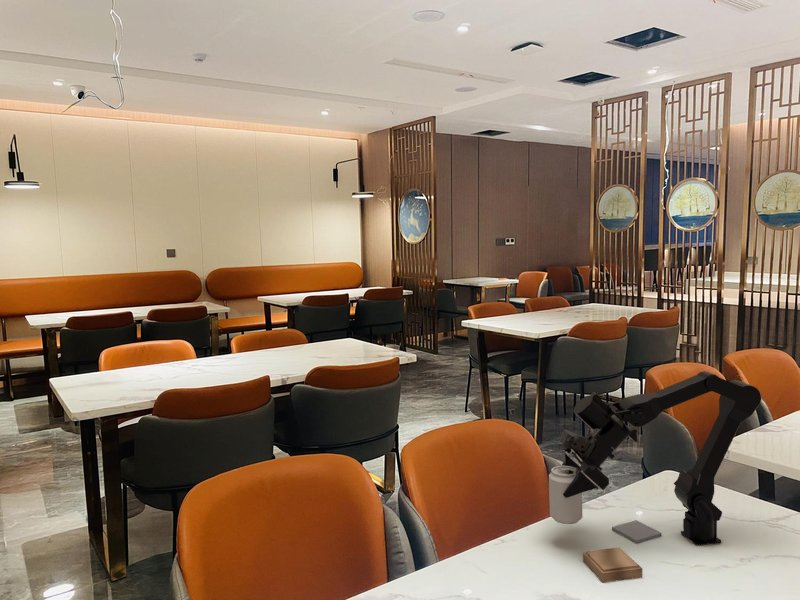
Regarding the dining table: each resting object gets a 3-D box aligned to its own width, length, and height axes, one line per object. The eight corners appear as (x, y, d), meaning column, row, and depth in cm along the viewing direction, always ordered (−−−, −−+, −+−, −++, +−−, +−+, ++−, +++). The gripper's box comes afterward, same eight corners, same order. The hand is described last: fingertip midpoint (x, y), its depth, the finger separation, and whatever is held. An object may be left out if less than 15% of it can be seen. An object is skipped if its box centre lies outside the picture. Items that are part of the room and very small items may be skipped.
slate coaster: (636, 523, 155) (636, 520, 155) (661, 536, 148) (661, 532, 148) (611, 530, 152) (611, 526, 152) (636, 543, 145) (636, 540, 145)
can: (585, 526, 141) (583, 475, 140) (551, 525, 142) (550, 475, 141) (580, 512, 148) (579, 463, 147) (548, 511, 150) (547, 463, 149)
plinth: (620, 556, 139) (620, 545, 139) (642, 577, 130) (642, 566, 130) (583, 561, 138) (582, 550, 137) (602, 582, 129) (602, 571, 128)
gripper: (569, 408, 153) (526, 454, 153) (593, 431, 134) (544, 482, 135) (601, 438, 153) (558, 483, 154) (630, 464, 135) (581, 515, 136)
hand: (559, 489), depth 145 cm, fingers closed on can, 7 cm apart
